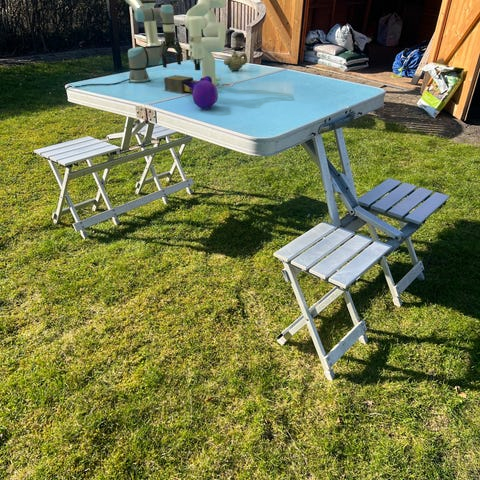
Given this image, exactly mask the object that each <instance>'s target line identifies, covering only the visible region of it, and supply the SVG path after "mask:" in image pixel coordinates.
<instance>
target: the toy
mask: <svg viewBox="0 0 480 480" xmlns="http://www.w3.org/2000/svg"><path fill="white" fill-rule="evenodd" d="M199 80H200V81H199ZM199 80H198V81H199V82H193V81H182V82H181V83H183V84H185V85H187V86H189V87H191V88H192V89H194V90H193V93H192V100H193V102H194V104H195V105H196V106H197V107H198V108H201V109H206V110H207V109H210V108H212V107H213V106H214V105H215V104H216V103H217V101H218V99H219V93H218V89H217V87H216V86H217V85H216V86H215V85H214V84H213V83H212V79H211V77H209V76H206V77H204V78H202V77H201V78H200V79H199Z"/></svg>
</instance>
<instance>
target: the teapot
mask: <svg viewBox="0 0 480 480" xmlns="http://www.w3.org/2000/svg"><path fill="white" fill-rule="evenodd" d="M242 58H243V60H242ZM247 63H248V56H247V53H246V52H242V53H240V54H238V53H237V52H236V50H233V53H232V54H231V57H226V58H225V59H224V60H223V64H224V65H225V66H227V67H228V69H229V71H231V72H237V71H240V69H242V68H243V66H244V65H246V64H247Z"/></svg>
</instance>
